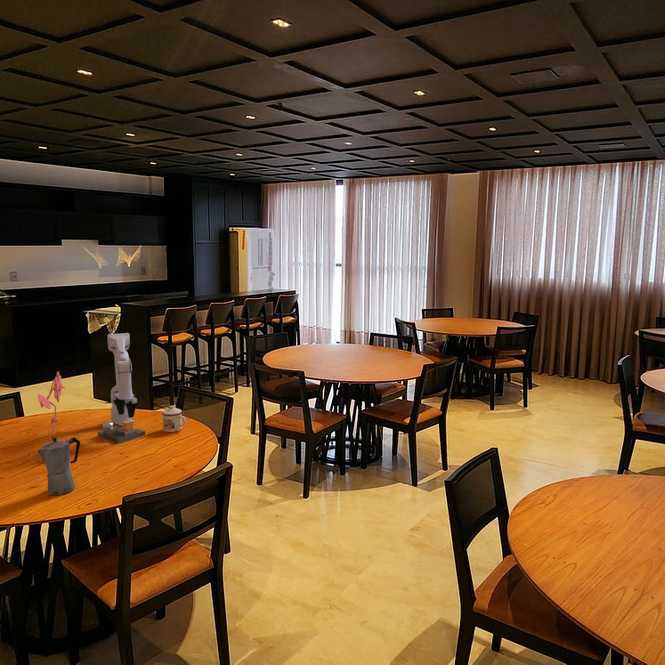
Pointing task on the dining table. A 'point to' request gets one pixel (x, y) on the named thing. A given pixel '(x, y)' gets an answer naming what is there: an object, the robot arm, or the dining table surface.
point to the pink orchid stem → (47, 403)
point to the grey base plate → (119, 433)
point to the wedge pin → (127, 425)
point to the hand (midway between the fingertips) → (126, 415)
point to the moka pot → (59, 465)
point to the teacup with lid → (172, 419)
